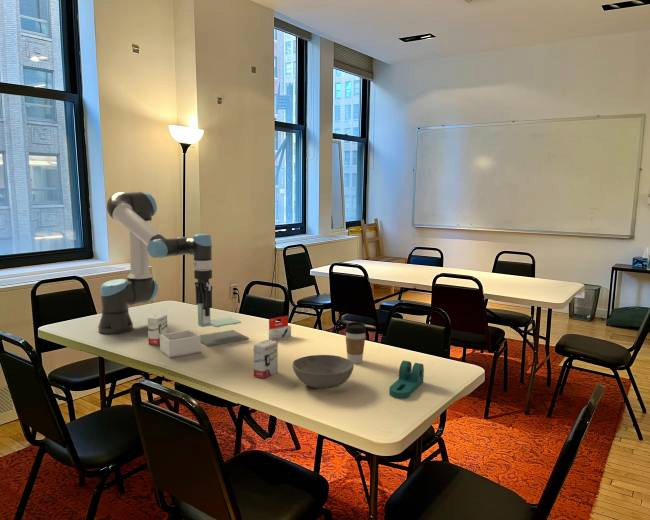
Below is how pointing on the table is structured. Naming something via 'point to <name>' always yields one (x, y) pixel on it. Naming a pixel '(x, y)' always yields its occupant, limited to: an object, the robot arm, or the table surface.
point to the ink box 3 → (279, 328)
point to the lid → (215, 321)
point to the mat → (221, 338)
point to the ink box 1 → (156, 328)
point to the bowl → (323, 370)
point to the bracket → (407, 380)
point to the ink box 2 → (265, 358)
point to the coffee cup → (355, 341)
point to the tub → (180, 343)
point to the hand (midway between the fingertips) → (204, 321)
